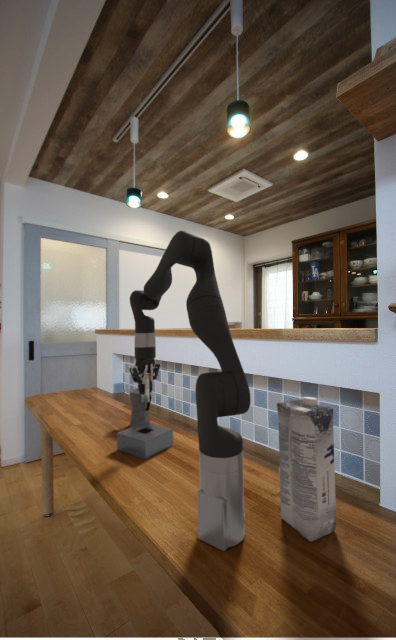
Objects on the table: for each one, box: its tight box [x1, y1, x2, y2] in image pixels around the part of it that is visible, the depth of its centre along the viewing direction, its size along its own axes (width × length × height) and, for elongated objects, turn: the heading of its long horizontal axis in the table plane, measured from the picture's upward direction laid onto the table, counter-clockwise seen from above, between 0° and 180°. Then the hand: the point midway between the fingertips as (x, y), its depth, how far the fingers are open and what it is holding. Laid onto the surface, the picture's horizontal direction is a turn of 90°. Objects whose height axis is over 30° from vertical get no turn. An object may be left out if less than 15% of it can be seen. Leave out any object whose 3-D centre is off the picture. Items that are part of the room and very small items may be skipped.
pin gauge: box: [141, 373, 151, 403], centre depth 105 cm, size 3×3×10 cm
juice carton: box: [276, 396, 337, 543], centre depth 63 cm, size 9×10×27 cm
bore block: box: [116, 422, 174, 460], centre depth 105 cm, size 14×14×6 cm
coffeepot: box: [128, 384, 152, 428], centre depth 129 cm, size 15×9×18 cm, turn 43°
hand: (145, 393), depth 105 cm, fingers closed on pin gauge, 2 cm apart
